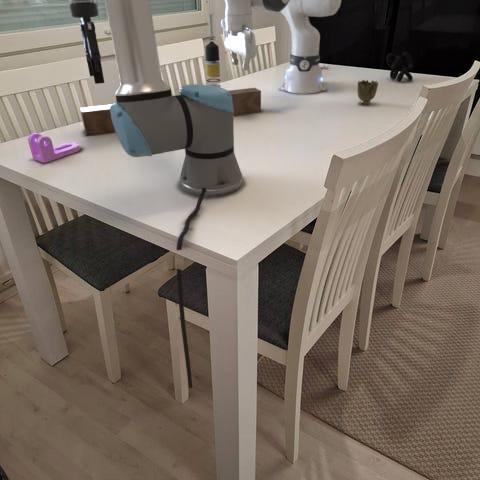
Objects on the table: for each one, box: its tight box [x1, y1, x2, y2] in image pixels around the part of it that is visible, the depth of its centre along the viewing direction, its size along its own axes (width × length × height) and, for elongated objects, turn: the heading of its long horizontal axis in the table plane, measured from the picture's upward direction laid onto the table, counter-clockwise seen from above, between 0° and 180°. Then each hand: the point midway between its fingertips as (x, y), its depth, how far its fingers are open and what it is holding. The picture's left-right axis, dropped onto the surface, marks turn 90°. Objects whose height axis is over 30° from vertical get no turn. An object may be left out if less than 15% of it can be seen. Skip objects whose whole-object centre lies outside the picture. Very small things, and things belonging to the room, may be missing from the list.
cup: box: [357, 79, 379, 106], centre depth 166 cm, size 8×7×8 cm
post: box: [79, 87, 262, 136], centre depth 153 cm, size 62×5×8 cm, turn 112°
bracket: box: [27, 132, 81, 164], centre depth 127 cm, size 13×6×7 cm, turn 143°
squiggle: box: [385, 51, 414, 83], centre depth 198 cm, size 11×10×15 cm
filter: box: [204, 13, 222, 88], centre depth 175 cm, size 6×6×30 cm
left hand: (97, 79), depth 138 cm, fingers open, 13 cm apart
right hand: (240, 67), depth 154 cm, fingers open, 8 cm apart
